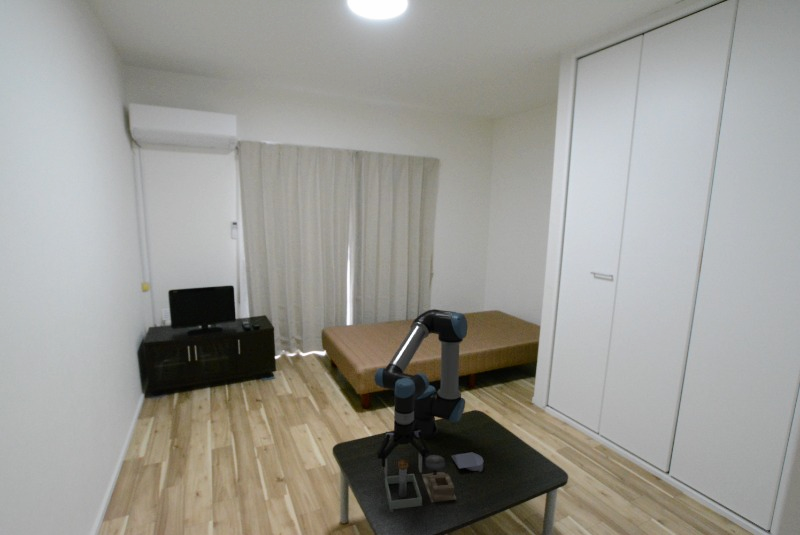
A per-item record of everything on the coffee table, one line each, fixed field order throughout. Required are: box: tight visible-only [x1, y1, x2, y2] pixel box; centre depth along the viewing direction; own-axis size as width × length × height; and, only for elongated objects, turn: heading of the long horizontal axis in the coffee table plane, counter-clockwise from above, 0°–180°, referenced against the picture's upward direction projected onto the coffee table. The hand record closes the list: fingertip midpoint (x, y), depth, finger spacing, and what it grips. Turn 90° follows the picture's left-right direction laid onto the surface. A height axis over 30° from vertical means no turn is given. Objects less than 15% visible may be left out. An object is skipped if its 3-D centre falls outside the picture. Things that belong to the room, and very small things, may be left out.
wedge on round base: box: [451, 452, 484, 473], centre depth 163 cm, size 9×7×13 cm
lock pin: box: [397, 459, 409, 498], centre depth 144 cm, size 4×4×13 cm
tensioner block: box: [421, 454, 457, 503], centre depth 149 cm, size 17×10×9 cm, turn 10°
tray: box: [384, 473, 423, 513], centre depth 144 cm, size 14×12×4 cm
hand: (403, 472), depth 144 cm, fingers open, 13 cm apart
